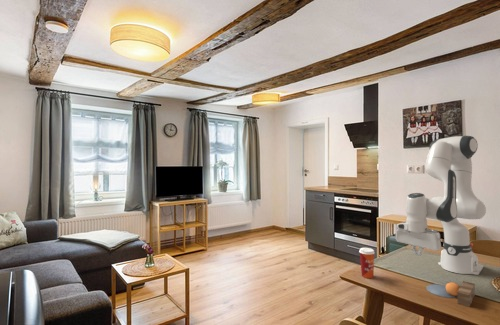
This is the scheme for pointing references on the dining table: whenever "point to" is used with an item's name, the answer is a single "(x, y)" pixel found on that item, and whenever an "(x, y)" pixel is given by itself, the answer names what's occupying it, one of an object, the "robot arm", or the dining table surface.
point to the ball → (452, 288)
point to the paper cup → (367, 262)
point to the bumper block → (466, 293)
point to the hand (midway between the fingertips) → (417, 254)
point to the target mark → (439, 290)
